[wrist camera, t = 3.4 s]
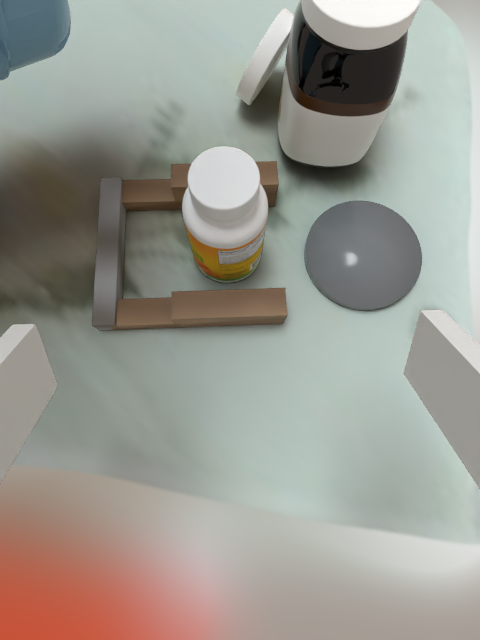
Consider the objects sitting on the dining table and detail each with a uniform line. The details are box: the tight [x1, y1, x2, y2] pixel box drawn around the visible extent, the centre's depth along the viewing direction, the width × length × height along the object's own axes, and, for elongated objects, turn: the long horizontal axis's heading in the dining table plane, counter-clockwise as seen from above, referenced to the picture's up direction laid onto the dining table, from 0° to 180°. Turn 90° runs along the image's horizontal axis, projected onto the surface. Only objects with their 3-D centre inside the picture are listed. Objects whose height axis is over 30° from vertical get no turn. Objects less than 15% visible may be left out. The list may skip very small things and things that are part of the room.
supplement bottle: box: [182, 146, 268, 283], centre depth 24 cm, size 5×5×10 cm
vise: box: [92, 161, 287, 330], centre depth 28 cm, size 12×14×3 cm
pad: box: [304, 201, 422, 311], centre depth 29 cm, size 9×9×1 cm
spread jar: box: [236, 0, 421, 168], centre depth 27 cm, size 12×11×12 cm
